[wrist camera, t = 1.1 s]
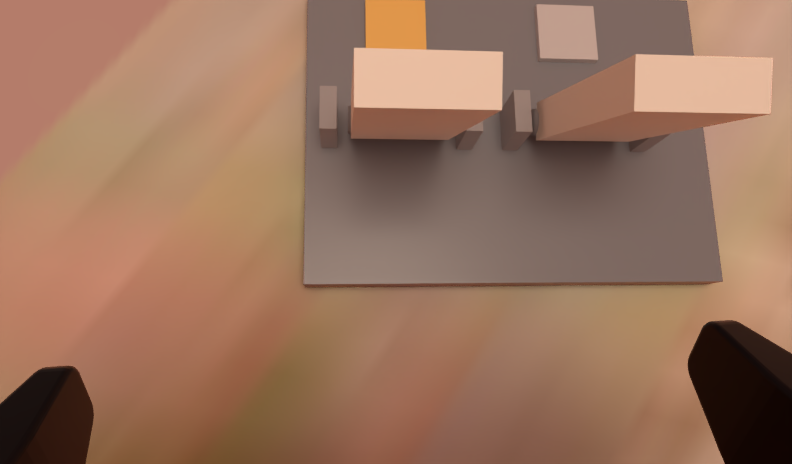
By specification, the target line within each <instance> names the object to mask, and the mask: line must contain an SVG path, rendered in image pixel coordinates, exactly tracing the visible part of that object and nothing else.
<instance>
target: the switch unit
mask: <svg viewBox="0 0 792 464" xmlns="http://www.w3.org/2000/svg"><path fill="white" fill-rule="evenodd" d="M354 48H384V49H421V50H458V51H495V52H503V83H502V110H501V111H500V112H498V113H496V114H494V115H492V116H491V117H489V118H487V119H485V120H483V121H482V122H480V123H478V124H476V125H474V126H472V127H471V128H469V129H467V130H465V131H463V132H462V133H460V134H458V135H456V136H454V137H453V138H451V139H449V140H415V139H351V134H348V106H351V89H352V72H353V56H354ZM635 54H648V55H684V56H694V53H693V45H692V37H691V29H690V21H689V13H688V6H687V1H679V0H308V20H307V88H306V157H305V225H304V286H305V287H414V286H551V285H687V284H712V283H717V282H722V281H723V279H722V271H721V264H720V256H719V248H718V240H717V232H716V225H715V217H714V209H713V201H712V193H711V185H710V178H709V170H708V162H707V154H706V146H705V139H704V131H703V127H701V128H696V129H691V130H686V131H681V132H676V133H670V134H665V135H660V136H655V137H650V138H645V139H640V140H635V141H629V142H612V141H542V140H536V136H531V135H530V134H531V133H532V132H533V129H532V114H531V110H532V109H537V102H539V101H541V100H543V99H546V98H548V97H550V96H552V95H554V94H556V93H558V92H560V91H562V90H564V89H566V88H568V87H570V86H572V85H574V84H576V83H578V82H580V81H582V80H584V79H586V78H588V77H590V76H592V75H594V74H596V73H598V72H600V71H603V70H605V69H607V68H609V67H611V66H613V65H615V64H617V63H619V62H621V61H623V60H625V59H627V58H629V57H631V56H633V55H635Z"/></svg>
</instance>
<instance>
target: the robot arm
mask: <svg viewBox="0 0 792 464" xmlns="http://www.w3.org/2000/svg"><path fill="white" fill-rule="evenodd" d="M688 371H689V375H690V378H691V380H692V383H693V385H694V388H695V390H696V393H697V395H698V398H699V400H700V403H701V406H702V408H703V411H704V413H705V416H706V418H707V421H708V423H709V426H710V428H711V431H712V433H713V436H714V438H715V441H716V444H717V446H718V449H719V451H720V453H721V456H722V458H723V460H724V463H725V464H792V354H791V353H790V352H788V351H786V350H785V349H783V348H781V347H780V346H778V345H776V344H775V343H773V342H771V341H770V340H768V339H766V338H764V337H763V336H761V335H759V334H758V333H756V332H754V331H753V330H751V329H749V328H748V327H746V326H744V325H743V324H741V323H739V322H737V321H732V320H726V321H711V322H708V323H707V324H705V325H704V326H703V328H702V330H701V332H700V334H699V336H698V338H697V340H696V343H695V345H694V347H693V349H692V351H691V353H690V356H689V358H688ZM93 416H94V413H93V405H92V402H91V400H90V397H89V395H88V393H87V390H86V388H85V385H84V383H83V381H82V378H81V376H80V373H79V372H78V370H77V369H76V368H75V367H73V366H57V367H45V368H42V369H40V370H38V371H36V372H35V373H34V374H33V375H32V376H31V377H29V378H28V379H27V380H26V381H25V382H24V383H23V384H22V385H21V386H19V387H18V388H17V389H16V390H15V391H14V392H13V393H12V394H11V395H9V396H8V397H7V398H6V399H5V400H4V401H3V402H2V403H1V404H0V464H86V458H87V453H88V447H89V442H90V436H91V431H92V425H93Z"/></svg>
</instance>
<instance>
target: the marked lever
mask: <svg viewBox="0 0 792 464" xmlns="http://www.w3.org/2000/svg"><path fill="white" fill-rule="evenodd" d="M502 83H503V52H495V51H458V50H421V49H384V48H354V56H353V72H352V89H351V106H348V134H351V139H415V140H449V139H451V138H453V137H454V136H456V135H458V134H460V133H462V132H463V131H465V130H467V129H469V128H471V127H472V126H474V125H476V124H478V123H480V122H482V121H483V120H485V119H487V118H489V117H491V116H492V115H494V114H496V113H498V112H500V111H501V110H502Z"/></svg>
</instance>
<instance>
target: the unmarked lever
mask: <svg viewBox="0 0 792 464" xmlns="http://www.w3.org/2000/svg"><path fill="white" fill-rule="evenodd" d="M772 69H773V58H758V57H721V56H684V55H648V54H635V55H633V56H631V57H629V58H627V59H625V60H623V61H621V62H619V63H617V64H615V65H613V66H611V67H609V68H607V69H605V70H603V71H600V72H598V73H596V74H594V75H592V76H590V77H588V78H586V79H584V80H582V81H580V82H578V83H576V84H574V85H572V86H570V87H568V88H566V89H564V90H562V91H560V92H558V93H556V94H554V95H552V96H550V97H548V98H546V99H543V100H541V101H539V102H537V109H532V110H531V114H532V129H533V132H532V133H531V134H530V135H531V136H536V140H542V141H612V142H629V141H635V140H640V139H645V138H650V137H655V136H660V135H665V134H670V133H676V132H681V131H686V130H691V129H696V128H701V127H706V126H711V125H717V124H722V123H727V122H732V121H737V120H742V119H747V118H752V117H758V116H763V115H768V114H771V93H772Z"/></svg>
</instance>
